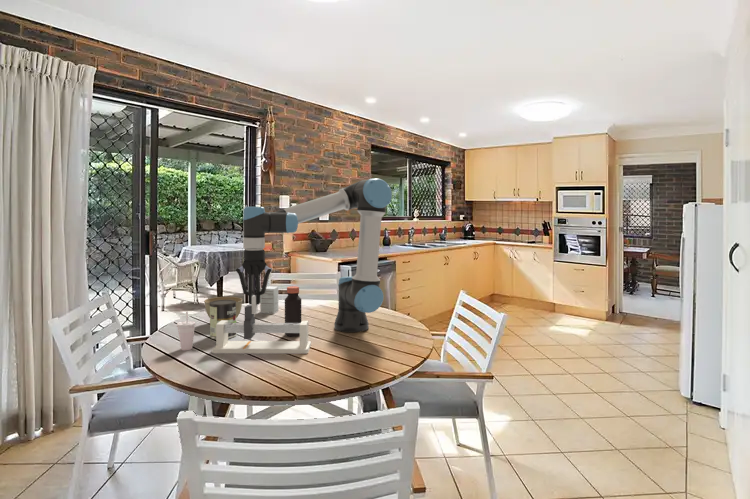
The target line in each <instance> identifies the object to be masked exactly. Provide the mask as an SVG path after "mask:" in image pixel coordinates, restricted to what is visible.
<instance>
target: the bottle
mask: <svg viewBox="0 0 750 499" xmlns="http://www.w3.org/2000/svg"><path fill="white" fill-rule="evenodd" d="M286 292H287V293H286V294H287V296H286V297H285V298H284V323H301V322H302V298H301V297H300V295H299V294H300V287H299V286H298V285H297V286H296V285H295V286H293V285H292V286H291V285H290V286H286ZM284 336H286V337H290V338H294V337H295V338H296V337H300V333H284Z"/></svg>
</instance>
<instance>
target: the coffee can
mask: <svg viewBox="0 0 750 499" xmlns="http://www.w3.org/2000/svg"><path fill="white" fill-rule="evenodd" d="M209 305H210V318H209V332H210V334H209V335H210V336H209V337H210V339H213V340H216V324H217V323H219V322H220V321H221V320H228V323H237V318H236V301H235V300H216V301H212V302H210V303H209ZM237 334H238V333H228V340H229V339H233V338H235V337H236V336H237Z"/></svg>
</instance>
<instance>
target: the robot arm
mask: <svg viewBox="0 0 750 499" xmlns="http://www.w3.org/2000/svg"><path fill="white" fill-rule="evenodd" d="M392 192H393V191H392V188H391V187H390V185H389V183H387V181H385V180H383V179H381V178H372V177H371V178H369V179H363V180H359V181H357V182H354V183H353V184H350V185H347V186H345V187H342V188H340V189H338V191H337V192H335V193H330V194H327V195H324V196H321V197H318V198H315V199H311V200H309V201H305V202H301V203H298V204H295V205H292V206H290V207H289V206H288V207H286V208H283V209H278V210H276V211H274V212H273V211H271V212H269V211H268V212H267V211H266V210H265V207H264V206H245V207H244V209H243V211H242V212H243V213H242V214H243V216H242V217H243V218H242V229H243V231H242V236H243V237H242V239H243V241H242V242H243V245H242V246H243V248H244V250H243V252H242V253H243V260H242V261H243V262H242V265H241V266H240V267H237V268H236V269H235V271H236V273H237V274H238V277H239V280H240V286H241V288H242V292H243V294H244V295H247V296H248V305H252V314H254V315H257V314H258V307H259V306H258V305H260V295H262V294H264V293H265V291H266V287H267V286H268V282H269V279H270V274H271V273H272V272H273V268H272V267H269V266H267V263H266V251H265V247H266V242H265V241H266V240H265V238H266V237H265V236H266V233H267V234H271V233H272V234H274V233H275V234H278V233H279V234H284V233H285V234H286V233H287V234H292V233H293V234H294V233H296V232H297V231H298V228H299V227H298V226H299V224H301V223H305V222H309V221H311V220H316V219H318V218H320V217H323V216H326V215H329V214H333V213H335V212H340V211H343V210H345V211H350V210H353V209H356V210H357V213H358V214H359V215H360V218H359V219H360V220H359V233H358V244H357V246H358V248H357V257H356V258H357V259H356V260H357V261H356V271H355V274H354V275H353V276H342V277H340V278H339V279H338V284H337V286H338V310H337V315H336V317H335V321H334V324H333V325H334V327H333V328H334V329H335V330H336V331H339V332H344V333H361V332H364V331H367V330H369V321H368V316H367V314H371V313H373V312H376V311H378V310H379V308H380V307H381V306H382V304H383V302H384V292H383V290H382V288H381V287H380V286H381V279H380V277H379V276H378V266H379V253H380V240H381V228H382V218H383V217H384V216H385V215H386V213H387V212H386V211H387V207H388V205H389V204H390V203H391V200H392V195H393V193H392ZM244 271H245V272H246V273H247V279H248V280H246V276H245V273H244ZM263 272H265V273H264V276H263V277H264V278H263V280H262V281H263V282H262V285H261V277H262V276H261V274H262V273H263ZM254 278H255V292H254ZM247 281H248V283H247ZM261 288H262V289H261ZM260 289H261V291H260ZM254 293H255V294H254ZM366 313H367V314H366ZM360 331H361V332H360Z"/></svg>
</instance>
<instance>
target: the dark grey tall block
mask: <svg viewBox="0 0 750 499" xmlns="http://www.w3.org/2000/svg"><path fill="white" fill-rule="evenodd" d="M243 323H244V333H243V340H251V339H252V338H253V337H254V336H255V335H256V333H252V323H256V317H255V314H252V305H249V304H246V305H245V307H244V320H243Z"/></svg>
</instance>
